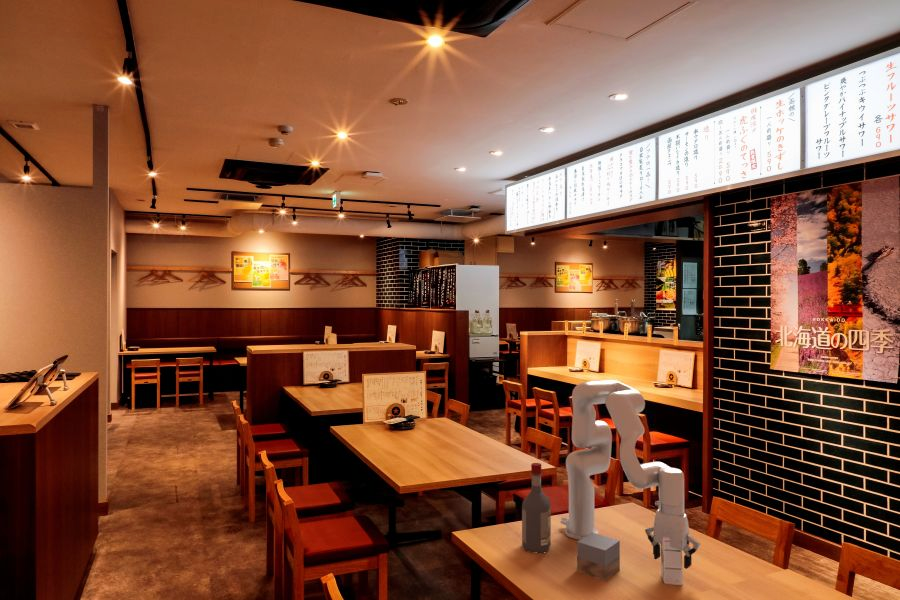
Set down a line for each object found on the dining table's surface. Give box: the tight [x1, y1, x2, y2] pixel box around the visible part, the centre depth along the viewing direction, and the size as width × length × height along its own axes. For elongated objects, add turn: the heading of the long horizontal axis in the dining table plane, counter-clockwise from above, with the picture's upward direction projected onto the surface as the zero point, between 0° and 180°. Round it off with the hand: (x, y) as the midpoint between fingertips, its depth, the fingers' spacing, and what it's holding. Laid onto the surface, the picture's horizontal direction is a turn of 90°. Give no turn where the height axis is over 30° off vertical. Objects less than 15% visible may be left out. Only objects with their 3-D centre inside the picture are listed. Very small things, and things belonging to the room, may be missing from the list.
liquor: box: [521, 462, 552, 554], centre depth 208 cm, size 9×9×30 cm
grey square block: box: [576, 533, 621, 566], centre depth 190 cm, size 10×10×5 cm
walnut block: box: [576, 555, 621, 581], centre depth 191 cm, size 10×10×5 cm
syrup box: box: [660, 537, 684, 586], centre depth 184 cm, size 6×6×14 cm
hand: (671, 562), depth 183 cm, fingers open, 9 cm apart
